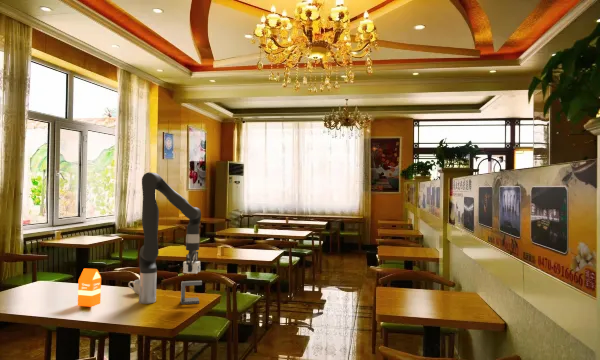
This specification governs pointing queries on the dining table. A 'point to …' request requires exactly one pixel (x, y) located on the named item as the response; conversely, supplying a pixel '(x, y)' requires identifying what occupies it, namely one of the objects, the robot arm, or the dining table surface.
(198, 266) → the white rounded block
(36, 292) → the dining table surface
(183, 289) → the stand
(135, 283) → the teacup
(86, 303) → the orange juice
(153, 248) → the robot arm
